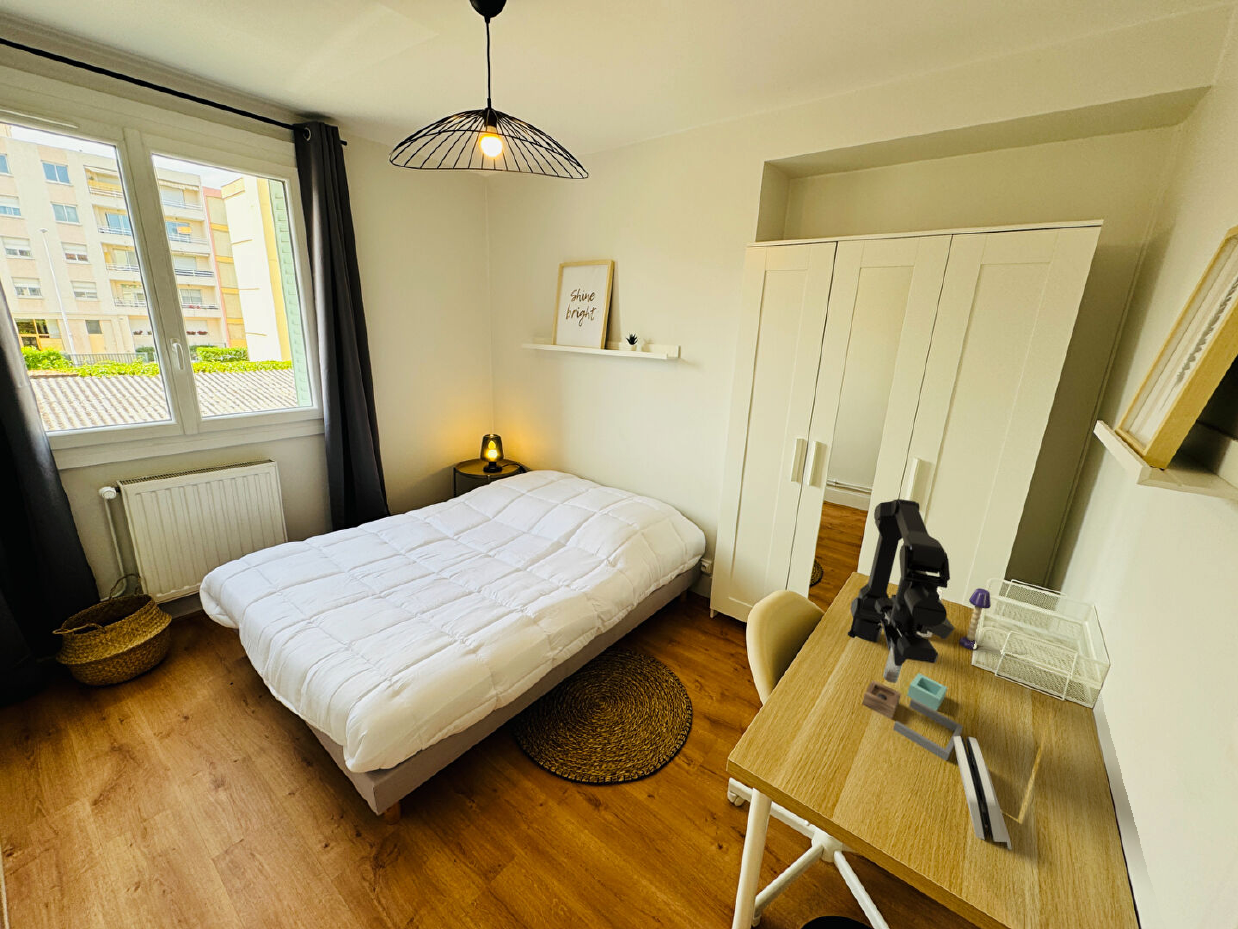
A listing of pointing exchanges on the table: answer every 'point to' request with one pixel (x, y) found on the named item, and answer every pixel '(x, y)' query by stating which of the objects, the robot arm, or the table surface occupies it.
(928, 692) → the teal block
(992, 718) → the table surface
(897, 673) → the metal cylinder peg
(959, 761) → the grey slotted housing
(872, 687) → the walnut block
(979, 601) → the toy lamp
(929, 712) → the grey u-shaped bracket
